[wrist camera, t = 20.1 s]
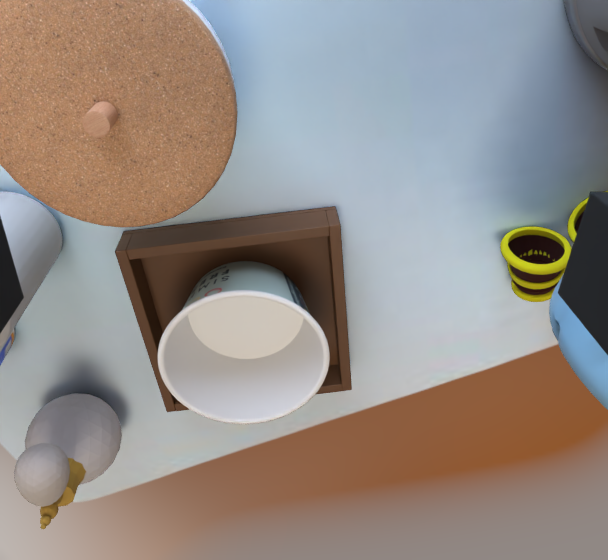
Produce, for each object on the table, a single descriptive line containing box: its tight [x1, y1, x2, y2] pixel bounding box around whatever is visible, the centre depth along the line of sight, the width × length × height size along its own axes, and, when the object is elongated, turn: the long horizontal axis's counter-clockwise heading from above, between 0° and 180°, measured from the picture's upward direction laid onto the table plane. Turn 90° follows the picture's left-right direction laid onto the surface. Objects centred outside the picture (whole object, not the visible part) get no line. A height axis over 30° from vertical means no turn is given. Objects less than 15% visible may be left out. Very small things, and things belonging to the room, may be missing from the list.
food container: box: [158, 261, 330, 424], centre depth 42 cm, size 12×12×6 cm
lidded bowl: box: [0, 0, 237, 227], centre depth 30 cm, size 13×13×11 cm
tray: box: [115, 206, 352, 412], centre depth 44 cm, size 16×16×3 cm
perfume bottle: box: [14, 393, 122, 529], centre depth 44 cm, size 8×10×12 cm
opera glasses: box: [500, 191, 608, 302], centre depth 41 cm, size 10×5×5 cm, turn 116°
